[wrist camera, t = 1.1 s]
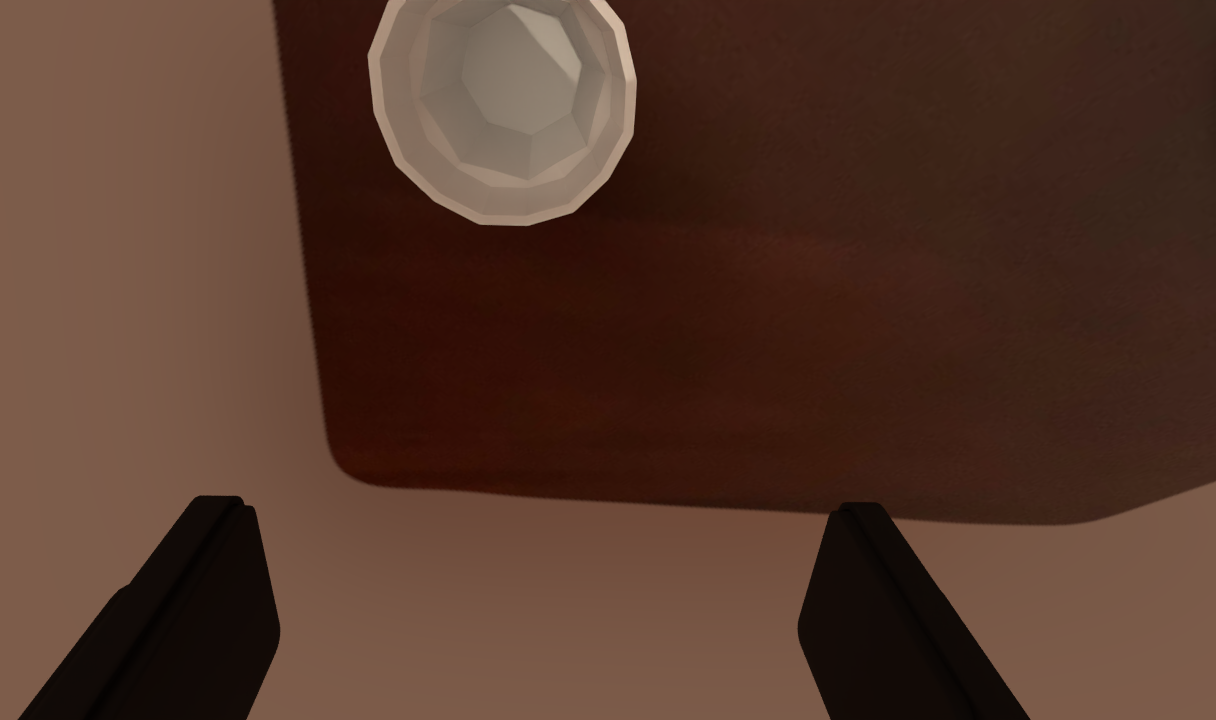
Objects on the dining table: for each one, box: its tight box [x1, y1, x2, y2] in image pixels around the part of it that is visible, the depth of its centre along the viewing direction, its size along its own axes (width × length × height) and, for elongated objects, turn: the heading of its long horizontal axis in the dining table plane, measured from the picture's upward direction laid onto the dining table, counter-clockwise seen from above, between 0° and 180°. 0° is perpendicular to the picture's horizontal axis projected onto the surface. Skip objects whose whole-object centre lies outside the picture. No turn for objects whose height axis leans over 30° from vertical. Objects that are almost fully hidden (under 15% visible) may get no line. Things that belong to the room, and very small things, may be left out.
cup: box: [368, 0, 637, 226], centre depth 21 cm, size 7×7×11 cm
